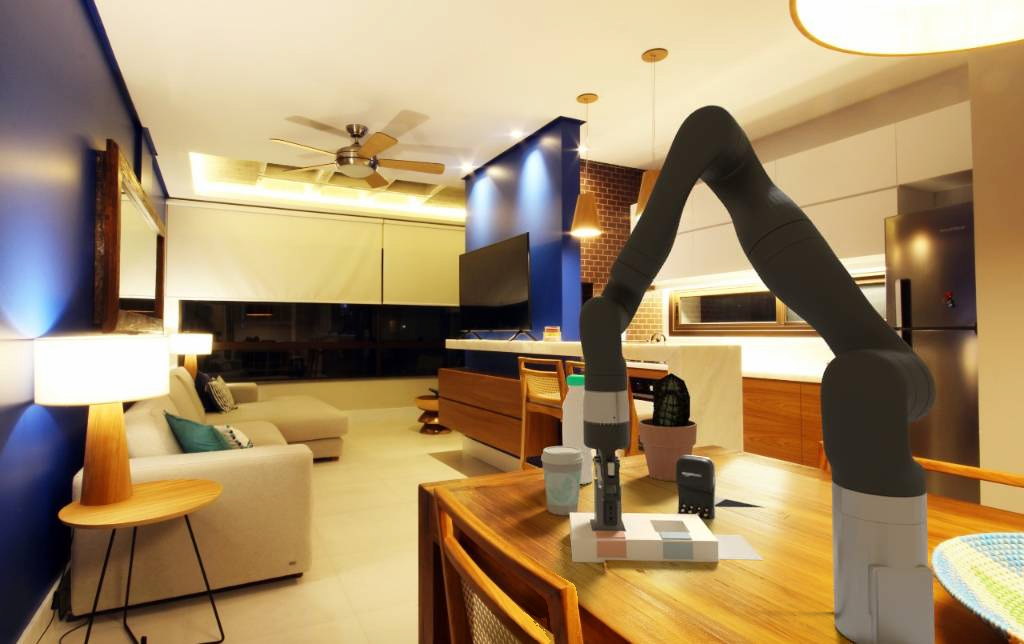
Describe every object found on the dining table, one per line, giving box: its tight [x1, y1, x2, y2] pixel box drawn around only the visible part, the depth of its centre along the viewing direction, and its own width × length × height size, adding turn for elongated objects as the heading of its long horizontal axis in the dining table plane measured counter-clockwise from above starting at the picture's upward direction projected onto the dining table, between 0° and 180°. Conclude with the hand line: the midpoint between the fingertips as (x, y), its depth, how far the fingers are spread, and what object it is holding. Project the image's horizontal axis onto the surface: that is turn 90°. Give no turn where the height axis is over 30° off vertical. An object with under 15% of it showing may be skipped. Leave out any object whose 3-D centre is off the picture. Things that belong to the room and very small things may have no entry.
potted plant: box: [638, 372, 698, 482], centre depth 132 cm, size 14×14×25 cm
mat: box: [713, 534, 764, 561], centre depth 88 cm, size 10×8×1 cm
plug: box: [593, 478, 623, 531], centre depth 89 cm, size 4×4×11 cm
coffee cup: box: [540, 445, 584, 516], centre depth 108 cm, size 9×8×12 cm
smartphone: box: [715, 496, 789, 519], centre depth 106 cm, size 7×15×1 cm, turn 45°
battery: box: [675, 454, 717, 520], centre depth 103 cm, size 7×4×11 cm, turn 54°
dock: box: [569, 512, 720, 564], centre depth 89 cm, size 12×22×4 cm, turn 86°
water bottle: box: [561, 374, 594, 485], centre depth 129 cm, size 7×7×25 cm
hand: (607, 516), depth 89 cm, fingers open, 8 cm apart
